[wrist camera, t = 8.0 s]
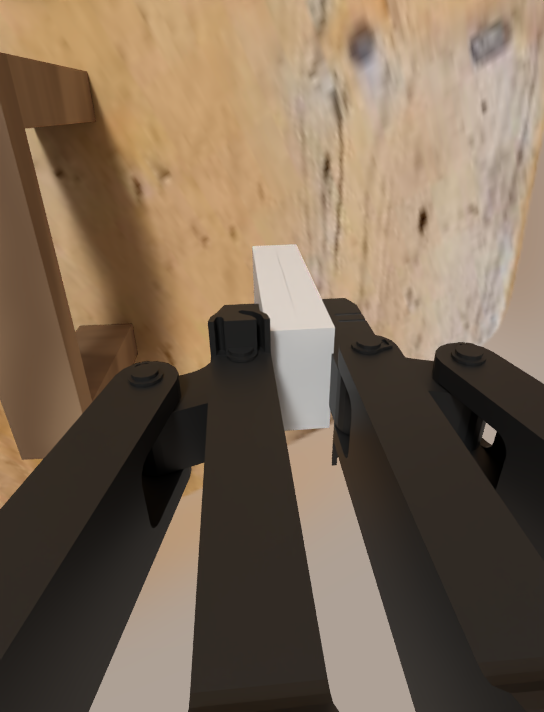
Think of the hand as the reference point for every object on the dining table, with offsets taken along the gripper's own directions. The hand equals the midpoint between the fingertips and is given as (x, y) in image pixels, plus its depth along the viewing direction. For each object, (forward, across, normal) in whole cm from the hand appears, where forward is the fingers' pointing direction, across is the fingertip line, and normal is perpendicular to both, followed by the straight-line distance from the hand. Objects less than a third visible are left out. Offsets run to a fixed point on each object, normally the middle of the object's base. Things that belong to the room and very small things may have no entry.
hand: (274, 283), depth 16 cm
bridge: (+10, -9, 0) cm, 13 cm away
